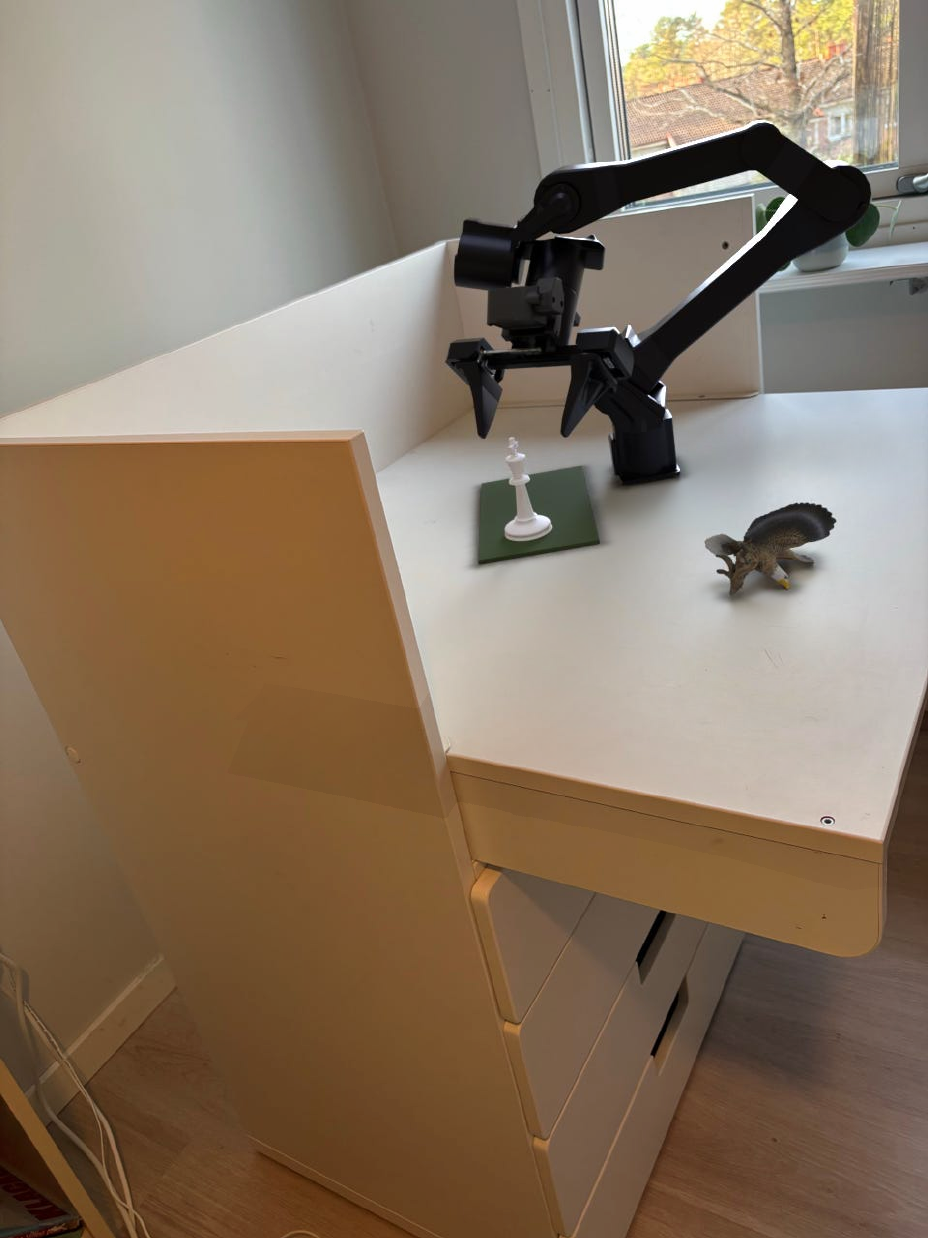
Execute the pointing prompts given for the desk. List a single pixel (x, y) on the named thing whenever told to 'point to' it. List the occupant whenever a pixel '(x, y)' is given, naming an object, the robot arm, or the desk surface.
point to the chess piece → (523, 502)
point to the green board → (549, 497)
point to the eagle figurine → (772, 542)
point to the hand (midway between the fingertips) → (521, 436)
